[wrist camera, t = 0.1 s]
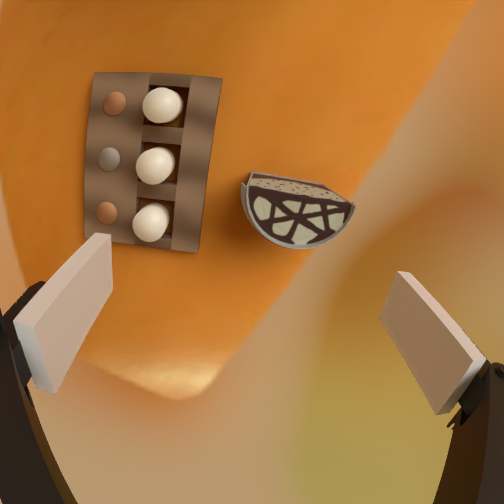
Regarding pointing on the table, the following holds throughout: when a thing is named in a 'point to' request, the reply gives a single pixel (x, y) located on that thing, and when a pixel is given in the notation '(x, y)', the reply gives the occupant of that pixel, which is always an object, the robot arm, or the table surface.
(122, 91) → the board
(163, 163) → the button mid
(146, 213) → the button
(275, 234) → the food container
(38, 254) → the table surface
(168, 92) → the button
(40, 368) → the robot arm
